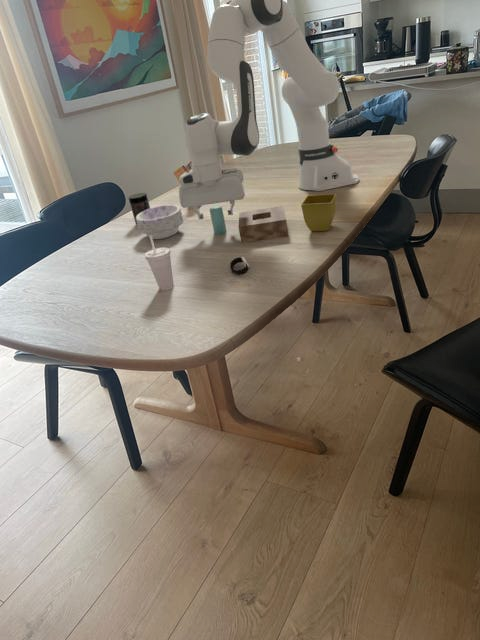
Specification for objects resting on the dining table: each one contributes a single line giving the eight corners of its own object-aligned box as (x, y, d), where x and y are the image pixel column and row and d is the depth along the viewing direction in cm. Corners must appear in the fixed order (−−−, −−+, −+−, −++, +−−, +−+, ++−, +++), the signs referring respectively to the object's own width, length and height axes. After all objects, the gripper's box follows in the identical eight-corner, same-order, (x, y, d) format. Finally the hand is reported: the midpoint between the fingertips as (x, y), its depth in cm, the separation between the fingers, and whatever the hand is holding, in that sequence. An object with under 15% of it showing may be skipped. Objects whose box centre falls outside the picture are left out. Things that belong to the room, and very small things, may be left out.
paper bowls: (149, 246, 151) (142, 223, 147) (136, 236, 163) (129, 213, 160) (192, 232, 156) (187, 209, 152) (176, 223, 168) (171, 201, 165)
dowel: (226, 229, 153) (222, 205, 149) (226, 233, 150) (221, 208, 146) (214, 231, 154) (209, 207, 150) (213, 235, 150) (209, 210, 146)
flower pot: (338, 222, 141) (336, 193, 137) (334, 233, 134) (331, 202, 130) (309, 224, 144) (306, 195, 140) (303, 234, 137) (300, 204, 133)
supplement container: (152, 218, 179) (145, 191, 174) (155, 223, 173) (147, 195, 168) (135, 223, 178) (127, 195, 173) (137, 227, 172) (129, 199, 167)
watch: (253, 273, 120) (251, 260, 118) (235, 278, 119) (233, 265, 117) (244, 263, 126) (242, 251, 125) (227, 268, 125) (225, 255, 124)
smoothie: (155, 284, 124) (141, 233, 117) (179, 279, 124) (166, 229, 117) (153, 294, 118) (138, 242, 111) (178, 290, 118) (165, 237, 111)
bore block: (285, 221, 151) (283, 205, 148) (288, 235, 138) (286, 219, 136) (241, 227, 152) (239, 212, 150) (241, 243, 140) (238, 226, 137)
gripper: (242, 165, 144) (248, 209, 151) (176, 175, 146) (186, 218, 153) (241, 169, 139) (248, 215, 146) (174, 180, 141) (183, 224, 147)
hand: (216, 216), depth 149 cm, fingers open, 8 cm apart
